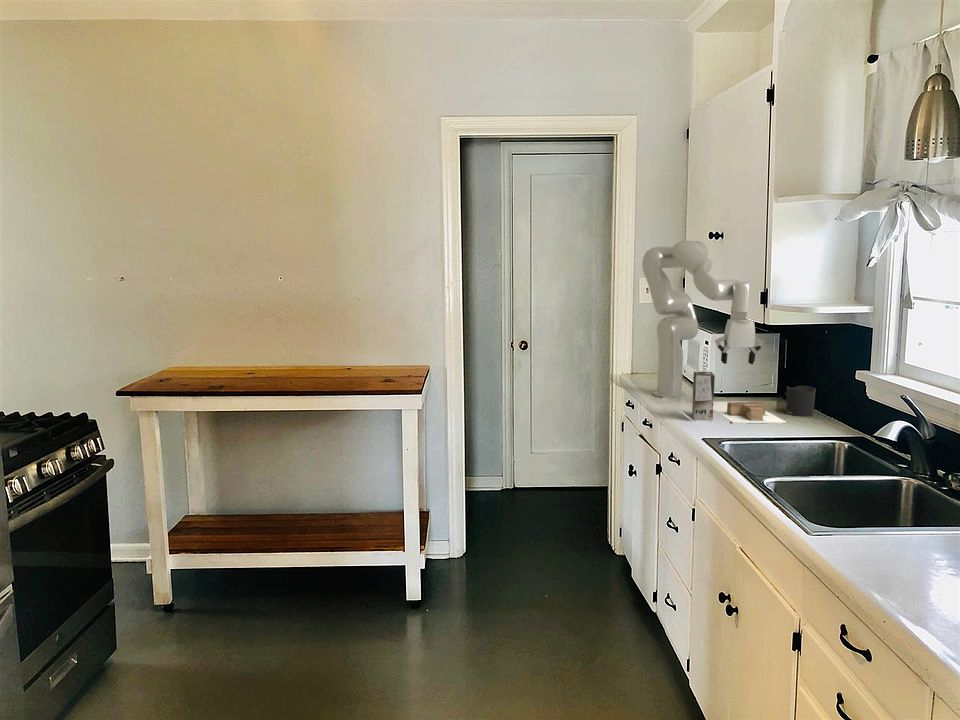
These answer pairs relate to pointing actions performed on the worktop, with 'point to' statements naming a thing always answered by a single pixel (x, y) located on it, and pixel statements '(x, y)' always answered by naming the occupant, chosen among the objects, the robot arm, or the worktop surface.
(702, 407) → the coffee box
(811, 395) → the pen holder
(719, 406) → the board
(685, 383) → the worktop surface
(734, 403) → the t block
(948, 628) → the worktop surface
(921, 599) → the worktop surface
